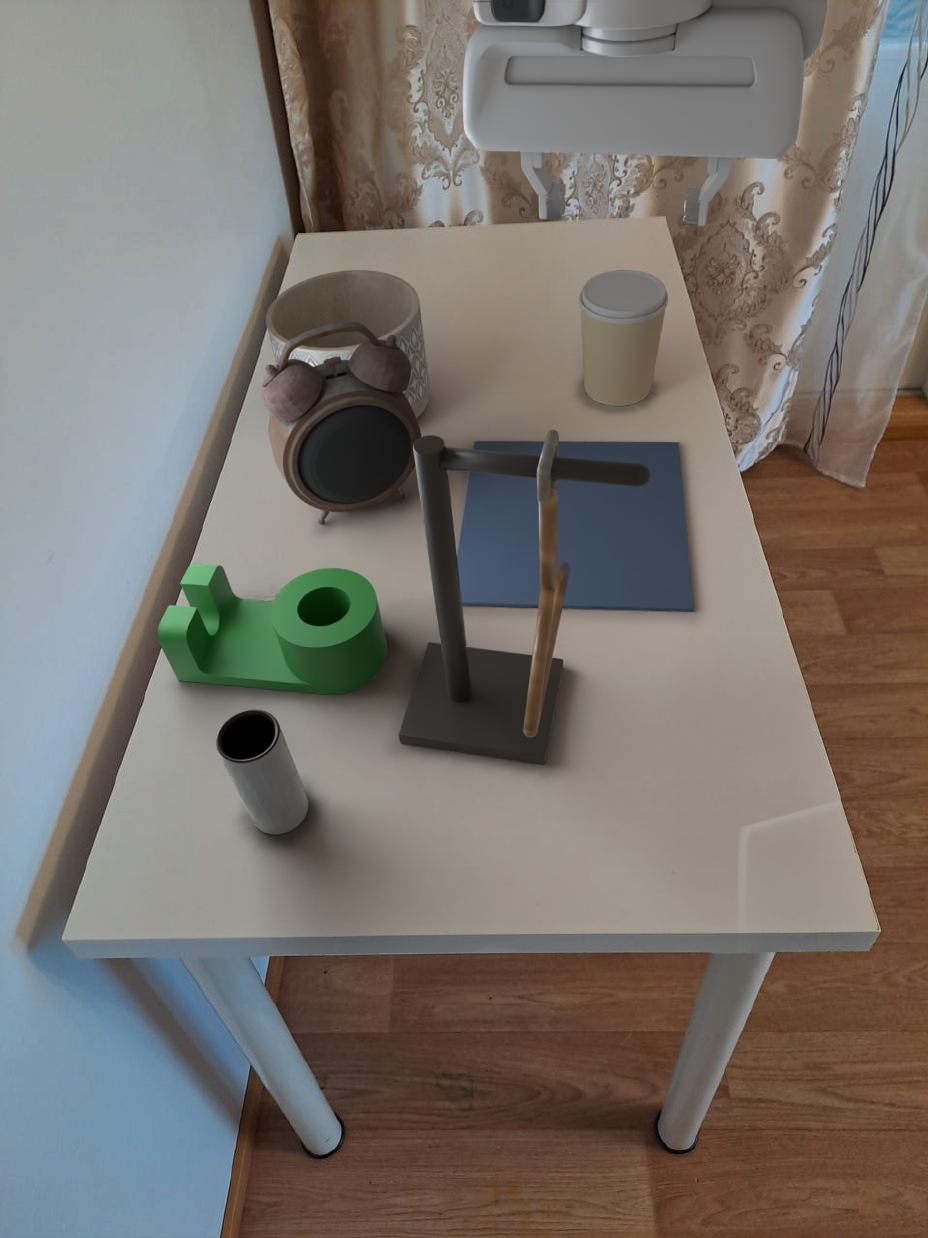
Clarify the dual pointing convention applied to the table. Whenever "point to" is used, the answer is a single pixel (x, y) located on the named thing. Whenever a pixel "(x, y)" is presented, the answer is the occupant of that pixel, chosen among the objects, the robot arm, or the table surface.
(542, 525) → the hanger
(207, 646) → the green bracket
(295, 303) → the planter
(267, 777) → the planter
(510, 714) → the rail
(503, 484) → the mat
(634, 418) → the table surface
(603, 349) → the coffee cup
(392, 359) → the alarm clock
